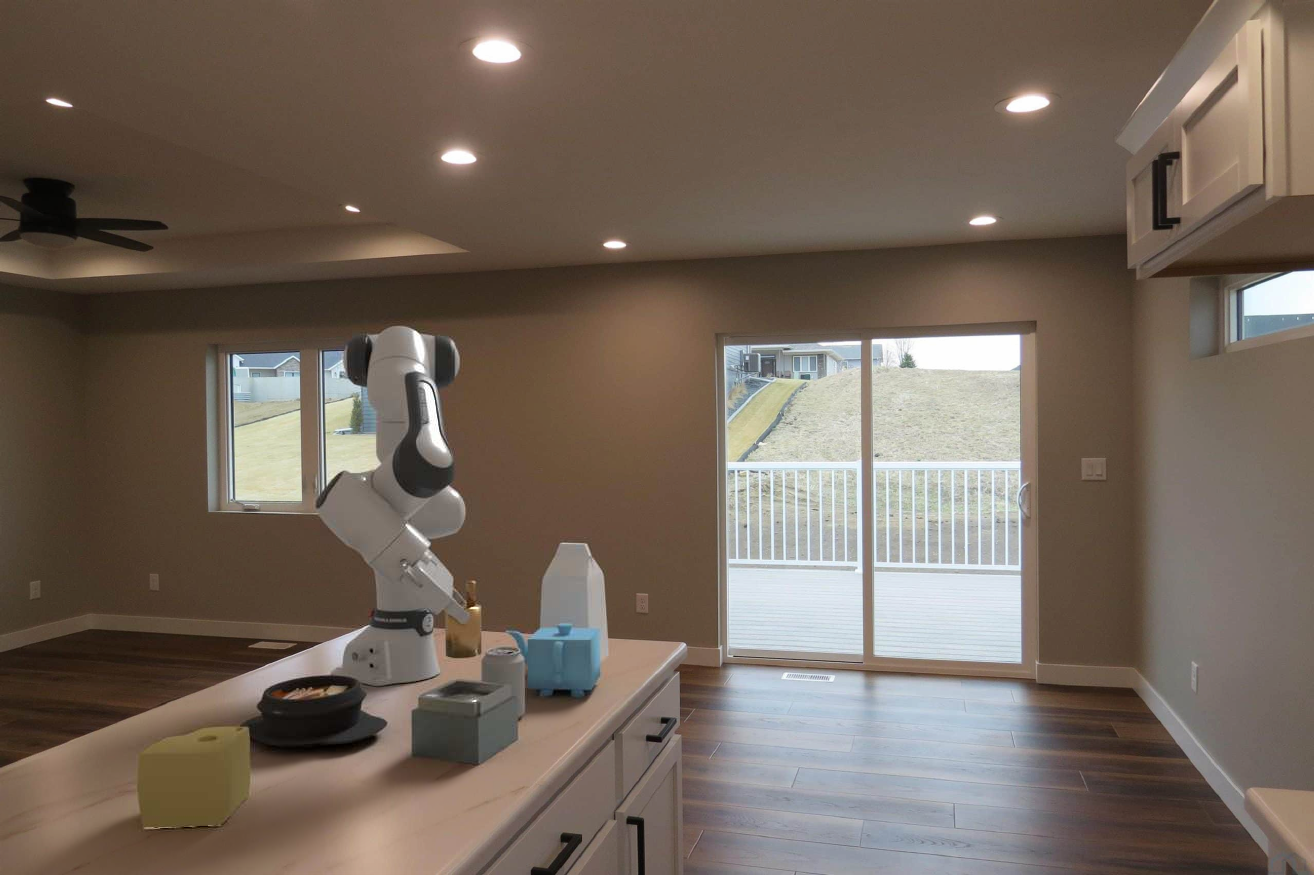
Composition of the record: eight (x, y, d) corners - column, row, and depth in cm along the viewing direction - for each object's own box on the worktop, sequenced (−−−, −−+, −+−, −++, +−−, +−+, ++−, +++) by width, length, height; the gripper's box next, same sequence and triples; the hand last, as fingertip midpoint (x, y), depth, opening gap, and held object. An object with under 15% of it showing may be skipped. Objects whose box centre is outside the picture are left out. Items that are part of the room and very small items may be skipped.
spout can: (445, 659, 137) (444, 585, 137) (445, 650, 143) (445, 579, 142) (481, 657, 138) (481, 584, 138) (481, 648, 144) (480, 578, 144)
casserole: (208, 748, 141) (208, 696, 141) (290, 713, 159) (290, 667, 159) (339, 765, 133) (339, 709, 133) (410, 726, 151) (409, 677, 151)
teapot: (602, 679, 179) (601, 616, 179) (589, 702, 163) (588, 633, 163) (515, 678, 181) (515, 615, 181) (494, 700, 165) (493, 632, 165)
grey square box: (411, 755, 137) (411, 697, 137) (455, 731, 148) (454, 677, 148) (478, 764, 133) (478, 705, 133) (518, 739, 144) (517, 684, 144)
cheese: (174, 799, 121) (173, 726, 121) (255, 796, 122) (254, 724, 122) (136, 833, 111) (135, 754, 111) (225, 829, 112) (224, 750, 112)
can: (515, 725, 151) (515, 655, 151) (475, 723, 152) (474, 653, 152) (530, 712, 158) (530, 645, 158) (491, 709, 160) (491, 643, 160)
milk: (538, 666, 190) (537, 546, 190) (559, 653, 201) (558, 539, 201) (590, 670, 186) (589, 547, 186) (609, 657, 197) (608, 541, 197)
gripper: (414, 550, 129) (483, 614, 131) (420, 534, 149) (480, 590, 151) (382, 582, 128) (452, 646, 130) (393, 562, 148) (453, 617, 150)
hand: (467, 615), depth 140 cm, fingers closed on spout can, 6 cm apart
